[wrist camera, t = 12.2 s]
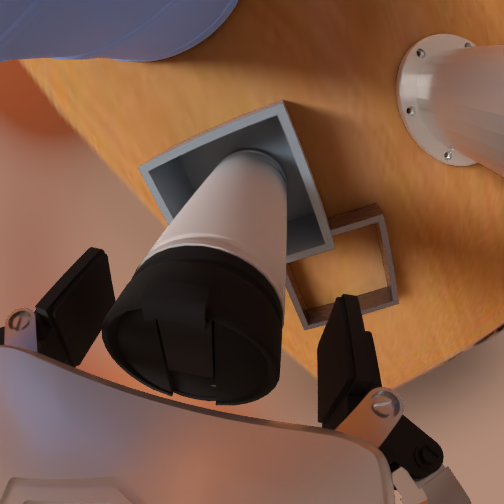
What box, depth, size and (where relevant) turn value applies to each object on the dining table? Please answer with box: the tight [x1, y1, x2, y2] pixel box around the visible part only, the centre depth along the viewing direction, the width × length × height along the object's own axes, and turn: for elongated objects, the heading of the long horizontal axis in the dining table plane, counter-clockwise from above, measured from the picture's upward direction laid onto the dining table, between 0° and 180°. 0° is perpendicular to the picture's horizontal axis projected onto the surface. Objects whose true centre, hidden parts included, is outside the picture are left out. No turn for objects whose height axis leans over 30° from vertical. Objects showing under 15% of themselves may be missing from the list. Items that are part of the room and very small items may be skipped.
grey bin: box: [138, 100, 335, 263], centre depth 24 cm, size 11×11×7 cm
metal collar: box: [285, 204, 399, 330], centre depth 29 cm, size 11×11×2 cm
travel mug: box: [102, 148, 287, 405], centre depth 17 cm, size 6×7×20 cm
